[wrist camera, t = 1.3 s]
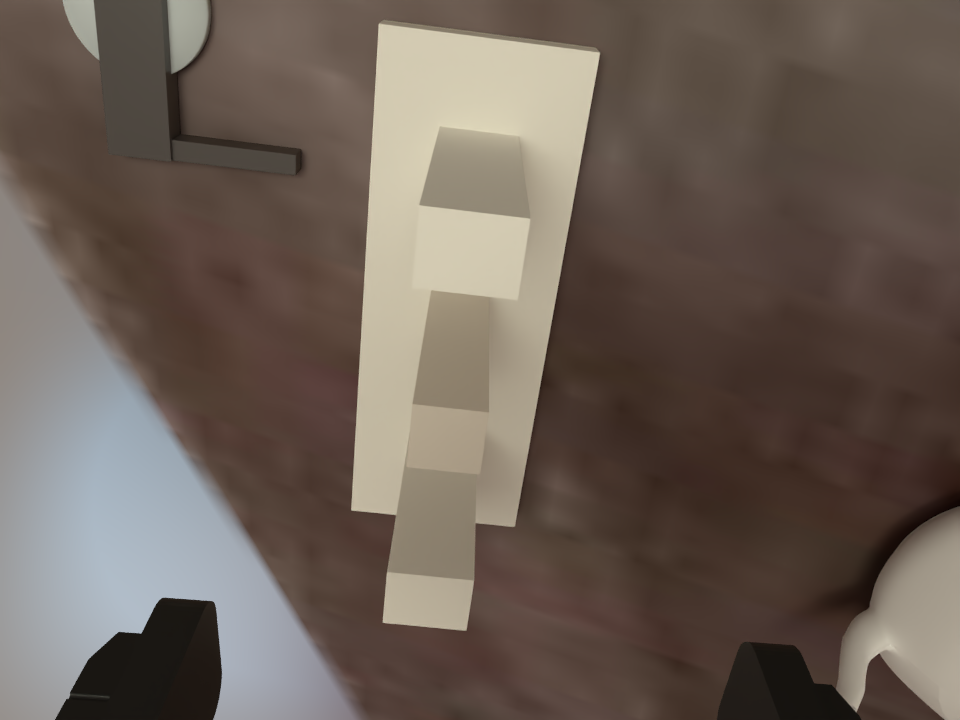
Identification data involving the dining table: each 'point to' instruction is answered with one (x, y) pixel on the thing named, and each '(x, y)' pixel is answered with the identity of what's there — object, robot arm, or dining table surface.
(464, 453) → the display stand
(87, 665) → the robot arm
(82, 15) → the spectacle frame
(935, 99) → the dining table surface
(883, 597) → the teapot
